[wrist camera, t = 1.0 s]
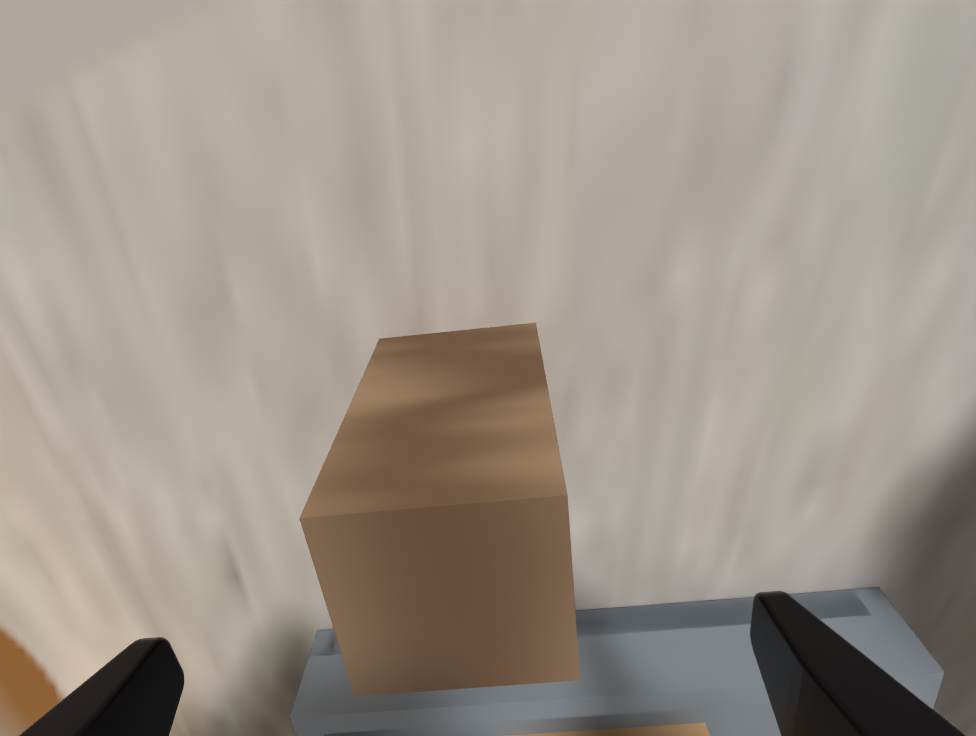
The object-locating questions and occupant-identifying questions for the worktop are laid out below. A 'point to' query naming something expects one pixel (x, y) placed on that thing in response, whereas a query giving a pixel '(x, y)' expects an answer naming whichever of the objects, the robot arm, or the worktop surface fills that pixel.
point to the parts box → (622, 677)
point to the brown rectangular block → (447, 519)
